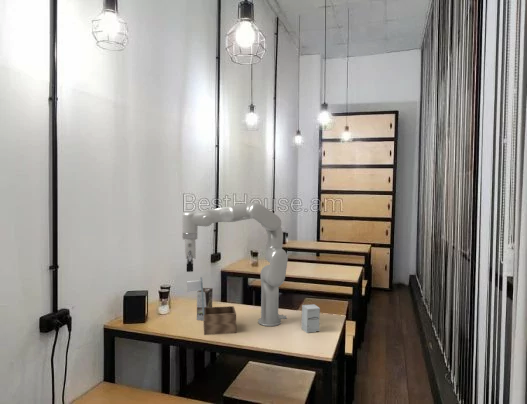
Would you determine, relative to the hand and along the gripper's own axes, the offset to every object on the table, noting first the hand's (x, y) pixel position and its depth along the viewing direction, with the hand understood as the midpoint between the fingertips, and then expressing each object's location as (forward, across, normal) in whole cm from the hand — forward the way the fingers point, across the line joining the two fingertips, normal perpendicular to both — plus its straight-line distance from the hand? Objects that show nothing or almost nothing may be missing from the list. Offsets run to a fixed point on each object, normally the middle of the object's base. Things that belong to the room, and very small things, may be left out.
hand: (189, 269), depth 187 cm
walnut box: (+32, 0, -15) cm, 35 cm away
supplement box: (+32, -8, -62) cm, 71 cm away
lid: (+14, 0, -7) cm, 15 cm away
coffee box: (+32, +19, -8) cm, 38 cm away
